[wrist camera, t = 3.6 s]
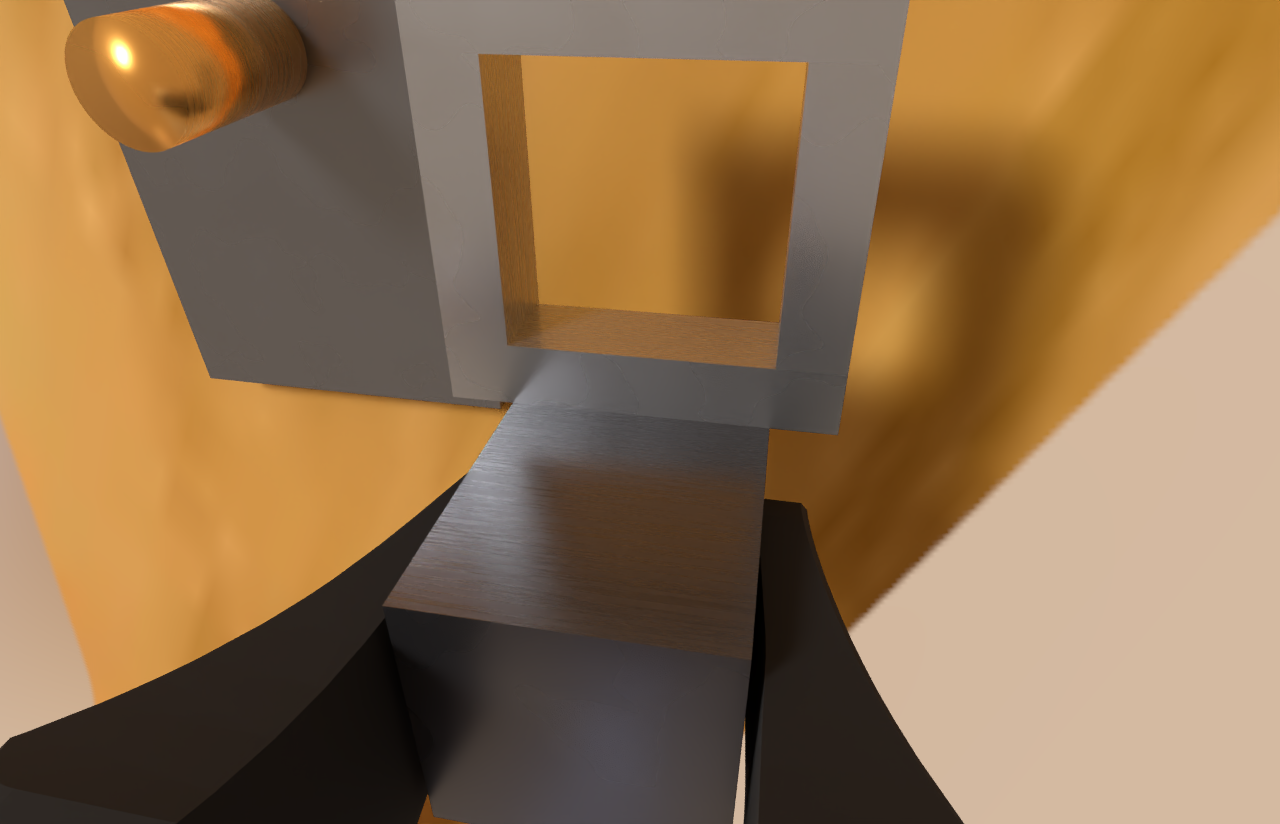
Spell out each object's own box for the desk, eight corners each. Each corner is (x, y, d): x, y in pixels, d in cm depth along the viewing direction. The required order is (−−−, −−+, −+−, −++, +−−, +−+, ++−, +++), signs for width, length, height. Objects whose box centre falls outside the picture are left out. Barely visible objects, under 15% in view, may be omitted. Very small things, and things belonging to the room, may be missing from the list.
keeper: (513, 387, 19) (443, 502, 16) (234, 358, 21) (110, 458, 17) (449, -144, 13) (309, -155, 10) (53, -139, 14) (-201, -146, 11)
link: (806, 564, 15) (806, 887, 10) (508, 526, 16) (365, 804, 11) (900, -41, 9) (1007, -26, 4) (442, -43, 10) (97, -33, 5)
